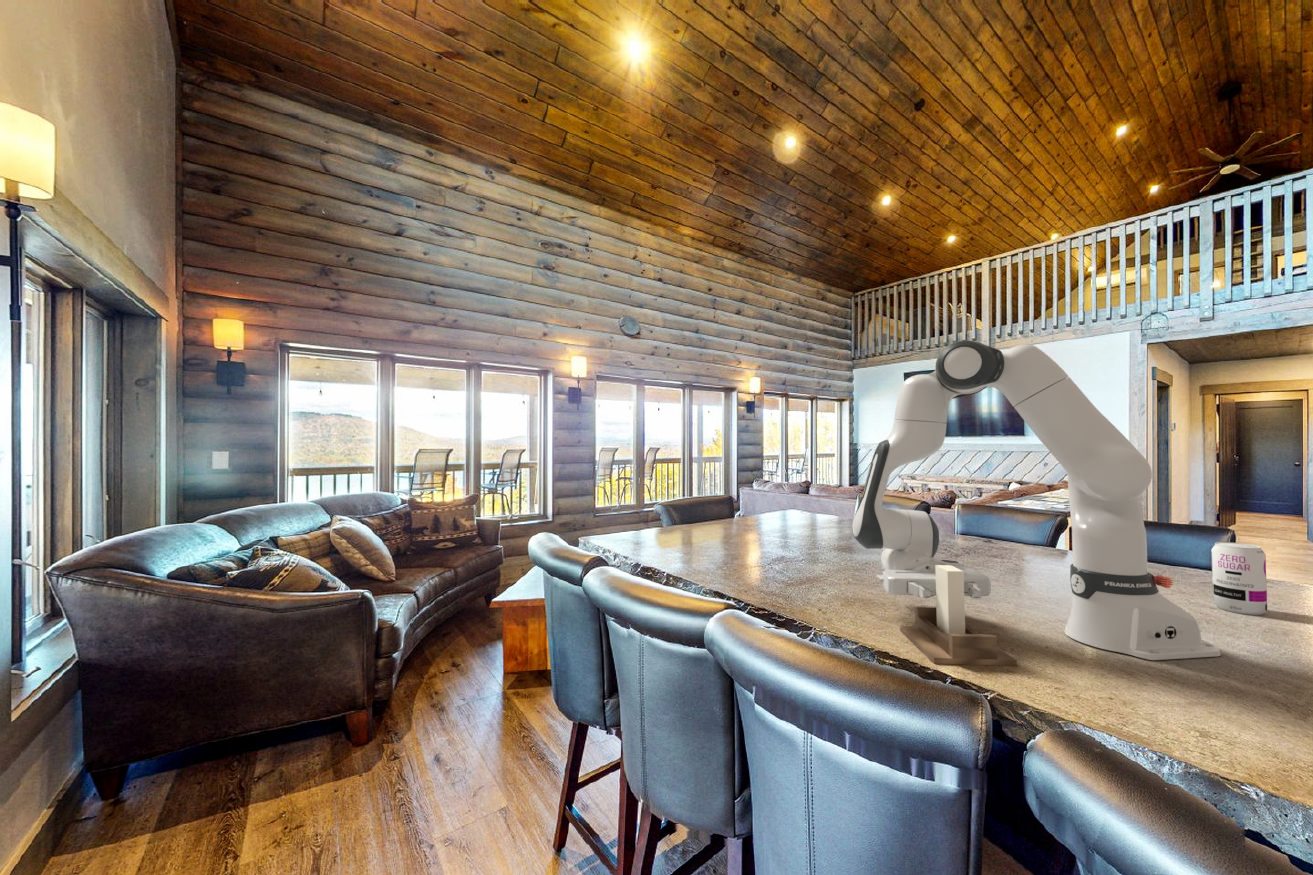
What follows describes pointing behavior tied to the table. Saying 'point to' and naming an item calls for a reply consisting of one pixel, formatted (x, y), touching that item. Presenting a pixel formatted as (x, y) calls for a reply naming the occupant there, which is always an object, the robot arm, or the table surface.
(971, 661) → the track board
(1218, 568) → the supplement can
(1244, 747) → the table surface
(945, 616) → the cream rectangular block
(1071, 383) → the robot arm
